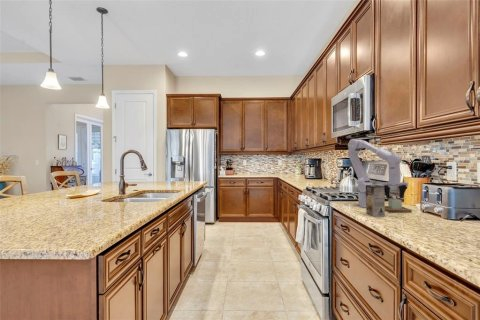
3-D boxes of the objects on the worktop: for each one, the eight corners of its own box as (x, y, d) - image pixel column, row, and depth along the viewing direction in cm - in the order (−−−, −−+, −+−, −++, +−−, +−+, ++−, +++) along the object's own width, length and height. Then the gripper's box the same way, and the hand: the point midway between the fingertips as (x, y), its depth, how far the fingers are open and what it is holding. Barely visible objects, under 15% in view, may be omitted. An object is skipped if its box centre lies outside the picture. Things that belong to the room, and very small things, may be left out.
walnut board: (379, 208, 160) (379, 206, 160) (399, 208, 159) (399, 205, 159) (389, 212, 148) (389, 209, 148) (411, 212, 147) (411, 209, 147)
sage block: (388, 207, 156) (388, 198, 156) (397, 207, 155) (396, 198, 155) (392, 208, 151) (392, 200, 151) (401, 208, 150) (401, 200, 150)
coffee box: (365, 213, 148) (365, 184, 148) (376, 212, 148) (376, 184, 148) (373, 216, 139) (373, 186, 139) (385, 216, 139) (385, 186, 139)
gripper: (384, 175, 150) (385, 199, 150) (411, 175, 149) (411, 199, 149) (379, 174, 157) (379, 197, 157) (404, 174, 156) (404, 197, 156)
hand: (394, 198), depth 153 cm, fingers open, 7 cm apart
